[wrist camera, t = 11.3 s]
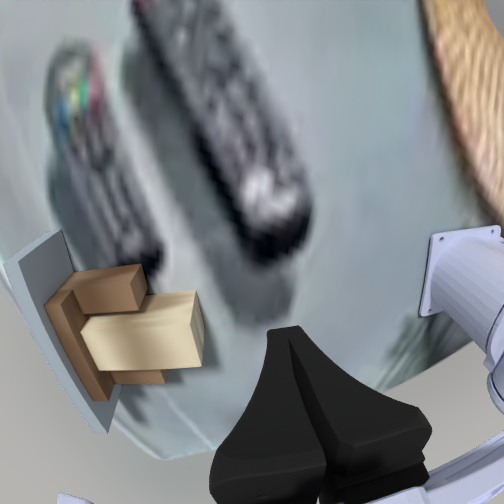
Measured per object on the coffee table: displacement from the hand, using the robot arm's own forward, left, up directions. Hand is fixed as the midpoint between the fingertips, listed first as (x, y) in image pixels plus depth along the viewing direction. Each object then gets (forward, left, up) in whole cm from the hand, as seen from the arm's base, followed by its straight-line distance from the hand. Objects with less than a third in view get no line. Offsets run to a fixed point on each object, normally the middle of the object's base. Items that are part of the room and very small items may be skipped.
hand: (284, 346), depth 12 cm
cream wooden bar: (+9, +4, -10) cm, 14 cm away
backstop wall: (+15, +4, -10) cm, 19 cm away
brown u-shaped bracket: (+12, +4, -10) cm, 16 cm away
